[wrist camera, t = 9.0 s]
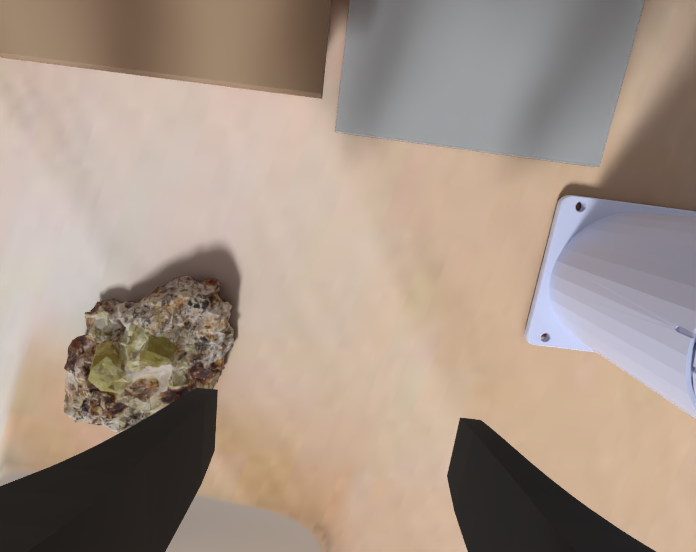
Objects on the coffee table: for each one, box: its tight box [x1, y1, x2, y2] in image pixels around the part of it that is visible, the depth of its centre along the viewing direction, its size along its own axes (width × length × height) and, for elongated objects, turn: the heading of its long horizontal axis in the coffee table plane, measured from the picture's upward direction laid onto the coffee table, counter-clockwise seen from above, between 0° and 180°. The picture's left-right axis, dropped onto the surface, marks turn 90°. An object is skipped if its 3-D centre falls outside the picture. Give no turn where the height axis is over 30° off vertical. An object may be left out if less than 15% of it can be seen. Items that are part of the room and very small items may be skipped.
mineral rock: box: [64, 276, 235, 432], centre depth 20 cm, size 11×4×8 cm
